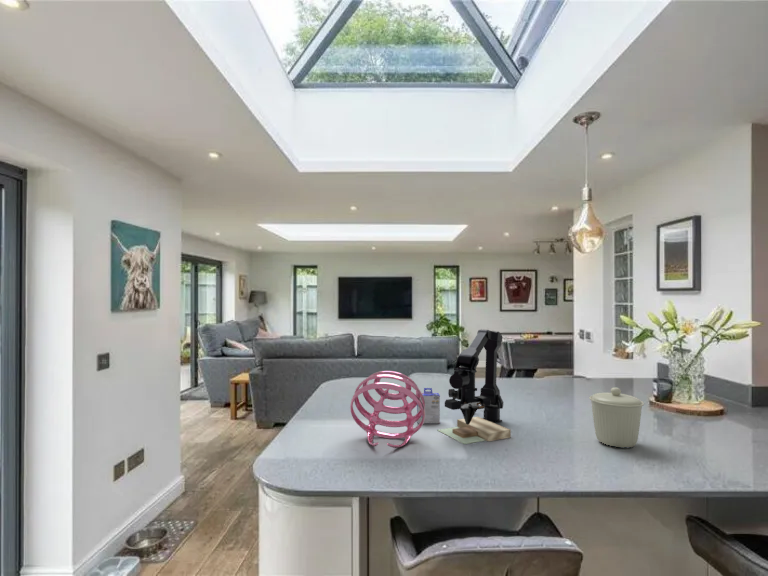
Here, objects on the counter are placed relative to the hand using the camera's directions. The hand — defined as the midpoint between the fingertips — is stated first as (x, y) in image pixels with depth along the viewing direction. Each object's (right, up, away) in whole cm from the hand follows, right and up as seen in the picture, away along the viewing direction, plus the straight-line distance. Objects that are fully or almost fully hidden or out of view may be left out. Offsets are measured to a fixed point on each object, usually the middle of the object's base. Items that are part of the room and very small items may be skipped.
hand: (467, 424), depth 168 cm
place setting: (+9, -6, +42) cm, 43 cm away
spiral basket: (-31, -4, -10) cm, 33 cm away
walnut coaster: (-1, -4, -1) cm, 4 cm away
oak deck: (+7, -4, +3) cm, 9 cm away
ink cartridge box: (-14, -5, +17) cm, 22 cm away
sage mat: (-3, -4, -2) cm, 5 cm away
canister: (+54, -5, -10) cm, 55 cm away
